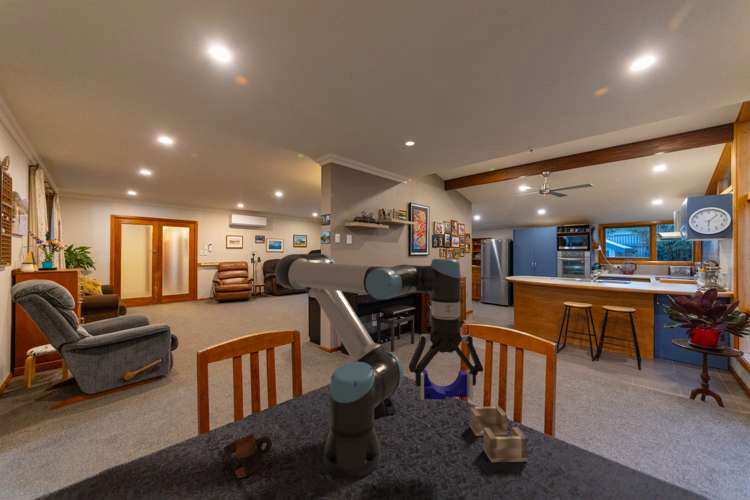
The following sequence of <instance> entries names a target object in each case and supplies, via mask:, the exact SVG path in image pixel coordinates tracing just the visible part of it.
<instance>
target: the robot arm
mask: <svg viewBox="0 0 750 500" xmlns="http://www.w3.org/2000/svg"><path fill="white" fill-rule="evenodd" d="M274 275H275V279H276V281H277V282H278V284H279V285H280V286H282V287H283V288H286V289H289V290H305V292H306V293H307V295H308V296H309V297H310V298H314V299H316V301H317V302H318V304H319V306H320V308H321V309H322V311H323V313H324V314H325V316H326V317H327V319H328V321H329V323H330V324H331V326H332V328H333V330H334V331H335V333H336V334H337V336H338V338H339V339H340V341H341V343H342V344H343V346H344V348H345V350H346V351H347V353H348V354H349V356H350V359H351V362H350V363H349V362H346V363H344V364H342V365H340V366H339V367H337V368H336V369H335V370H334V371H333V372H332V374H331V377H330V385H329V397H330V398H329V403H330V404H329V405H330V407H329V408H330V409H329V411H330V415H329V416H330V419H329V420H330V428H329V429H330V430H329V433H328V436H327V439H326V443H325V446H324V449H323V463H324V466H325V468H326V470H327V471H328V472H329V473H331V474H332V475H335V476H336V477H339V478H344V479H345V478H346V479H357V478H362V477H365V476H366V475H369V474H371V473H372V472H373V471H375V470H376V468H377V467H378V466H379V464H380V462H381V458H382V457H381V455H382V450H381V449H382V448H381V445H380V441H379V438H378V435H377V432H376V429H375V417H374V408H375V407H376V406H377V405H379V404H380V403H381V402H382V401H384V400H385V399H386V398H387V397H389V396H390V395H391V396H392V395H393V394H394V393H396V391H397V390H398V389H399V388H401V387H400V386H401V385H402V383H403V382H404V375H405V373H404V372H405V371H404V367H403V363H402V362H401V360H400V358H399V357H398V356H397V355H396V354H394V353H391V352H390V351H386V350H385V348H384V347H383V345H382V344H380V343H376V342H374V339H372V337H371V336H370V334H369V332H368V331H367V329H366V328H365V326H364V324H363V323H362V321H361V320H360V318H359V317H358V315H357V313H356V312H355V310H354V308H353V306H351V304H350V303H349V301H348V299H347V297H346V296H345V295H344V293H343V292H345V293H352V294H359V295H368V296H371V297H372V298H374V299H376V300H390V299H392V298H396V297H398V296H402V295H407V294H410V293H425V294H430V295H431V310H430V311H431V312H430V313H431V315H432V316H431V321H430V322H431V328H430V329H431V331H430V332H431V333H430V335H424V334H422V333H421V334H419V338H418V344H417V346H416V348H415V351H414V353H413V354H412V355H413V356H412V357H411V360H410V362H409V364H408V369H409V372H411V373H414V374H415V377H414V378H415V385H416V386H417V387H418V389H419V391H418V395H419V398H420V400H421V401H425V399H424V374H423V370H426V367H428V365H429V364H430V363H431V362H432V360H433V358H434V357H435V356H437V355H438V353H439V352H440V353H441V354H442V353H443V354H444V353H452V354H453V352H456V354H457V355H458V357H459V358H460V360H461V361H462V362H463V363H464V364H465V366H466V367H467V369H468V370H465V373H466V374H467V398H468V399H469V400H473V399H474V398H473V394H474V392H473V391H474V390H473V389H474V388H473V386H476V384H477V376H478V374H479V372H481V373H483V372H484V366H483V365H482V363H481V360H480V358H479V356H478V353H477V350H476V349H475V346H474V343H473V342H474V340H473V337H472V335H471V334H470V333H466V334H465V335H461V318H460V316H461V278H462V275H461V263H460V261H459V260H458V259H457V258H456V259H455V258H433V259H432V260H431V264H430V265H417V264H415V265H414V264H397V265H393V266H374V265H361V264H360V265H359V264H343V263H336V261H335V260H334V259H333V258H332V257H331V256H329V255H327V254H325V253H320V252H317V253H292V254H287V255H285V256H284V257H282V258H281V259H279V261H278V262H277V264H276V266H275V270H274ZM429 341H430V343H432V344H431V346H430V347H429V349H428V351H427V352H426V353H425V355H424V356H423V357H422V355H423V352H424V350H425V348H426V347H425V346H426V345H427V344H428V342H429ZM462 341H463V342H462ZM461 343H464V344H465V345H466V348H467V350H468V352H469V354H470V356H471V360H472V361H473V364H474V365H473V364H472V363H471V362H470V360H469V359H468V358H467V357H466V355H465V354H464V352H463V351H462V350H461V349H460V347H459V345H460V344H461ZM421 357H422V359H421ZM420 359H421V360H420Z"/></svg>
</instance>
